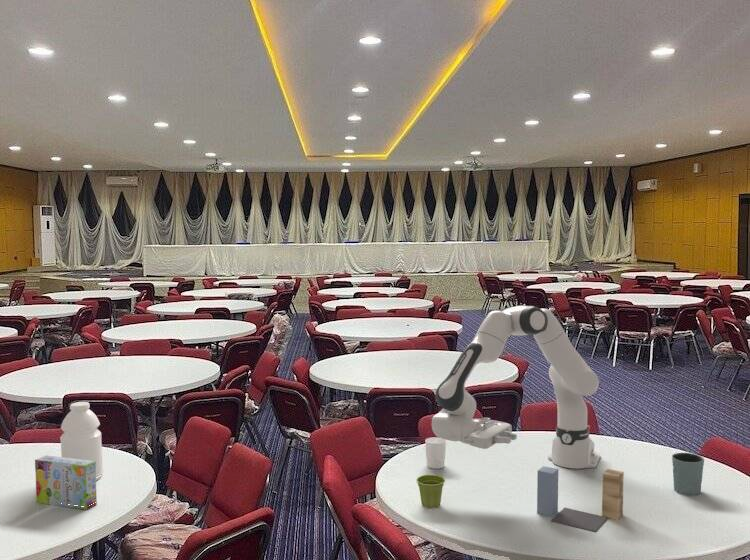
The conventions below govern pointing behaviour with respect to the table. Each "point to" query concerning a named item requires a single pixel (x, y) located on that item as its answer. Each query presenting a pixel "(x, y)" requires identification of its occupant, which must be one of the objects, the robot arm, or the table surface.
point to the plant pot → (430, 490)
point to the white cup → (435, 452)
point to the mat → (579, 519)
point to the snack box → (66, 482)
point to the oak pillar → (612, 494)
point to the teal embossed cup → (687, 473)
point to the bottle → (82, 436)
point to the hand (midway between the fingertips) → (513, 438)
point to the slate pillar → (547, 491)
